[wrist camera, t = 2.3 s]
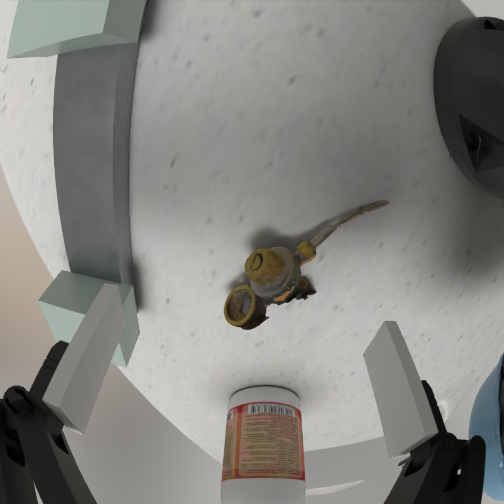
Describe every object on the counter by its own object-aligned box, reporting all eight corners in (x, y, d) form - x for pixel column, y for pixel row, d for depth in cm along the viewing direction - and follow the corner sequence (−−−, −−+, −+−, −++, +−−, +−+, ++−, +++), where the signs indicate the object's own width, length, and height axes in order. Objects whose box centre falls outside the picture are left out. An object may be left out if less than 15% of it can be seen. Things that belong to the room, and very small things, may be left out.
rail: (153, -21, 10) (140, -32, 8) (138, 311, 25) (129, 330, 23) (91, -9, 10) (73, -17, 8) (94, 301, 25) (84, 318, 23)
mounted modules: (155, -34, 8) (128, -59, 5) (140, 332, 23) (126, 367, 20) (62, -13, 8) (26, -22, 5) (75, 315, 23) (58, 345, 19)
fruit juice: (278, 376, 30) (279, 609, 6) (311, 404, 34) (320, 589, 10) (214, 394, 33) (193, 593, 9) (253, 419, 37) (246, 586, 13)
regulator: (360, 158, 18) (194, 281, 21) (396, 185, 15) (205, 323, 18) (382, 220, 23) (249, 316, 26) (410, 248, 20) (263, 351, 23)
